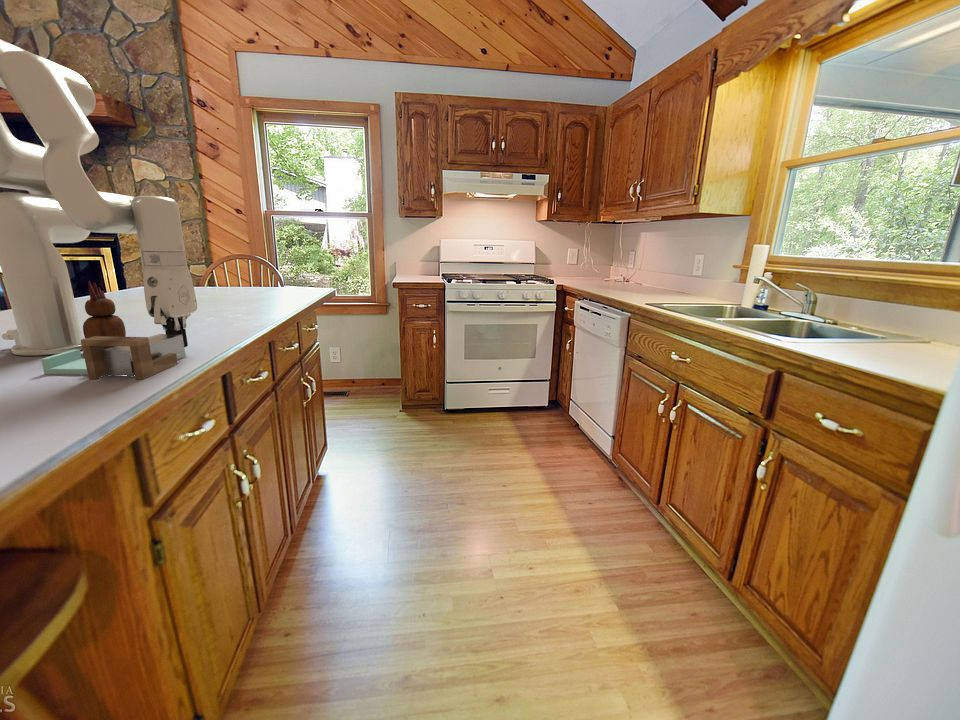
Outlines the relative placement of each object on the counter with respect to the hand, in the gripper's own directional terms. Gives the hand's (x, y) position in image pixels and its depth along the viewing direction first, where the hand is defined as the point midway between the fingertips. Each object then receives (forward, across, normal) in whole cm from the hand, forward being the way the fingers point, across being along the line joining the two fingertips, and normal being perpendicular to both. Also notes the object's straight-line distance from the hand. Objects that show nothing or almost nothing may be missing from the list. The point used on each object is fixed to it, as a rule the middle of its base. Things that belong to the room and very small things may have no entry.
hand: (178, 347), depth 92 cm
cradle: (+1, -12, +10) cm, 16 cm away
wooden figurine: (+2, +2, +16) cm, 16 cm away
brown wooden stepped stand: (+1, -13, 0) cm, 13 cm away
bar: (-1, -10, 0) cm, 10 cm away
